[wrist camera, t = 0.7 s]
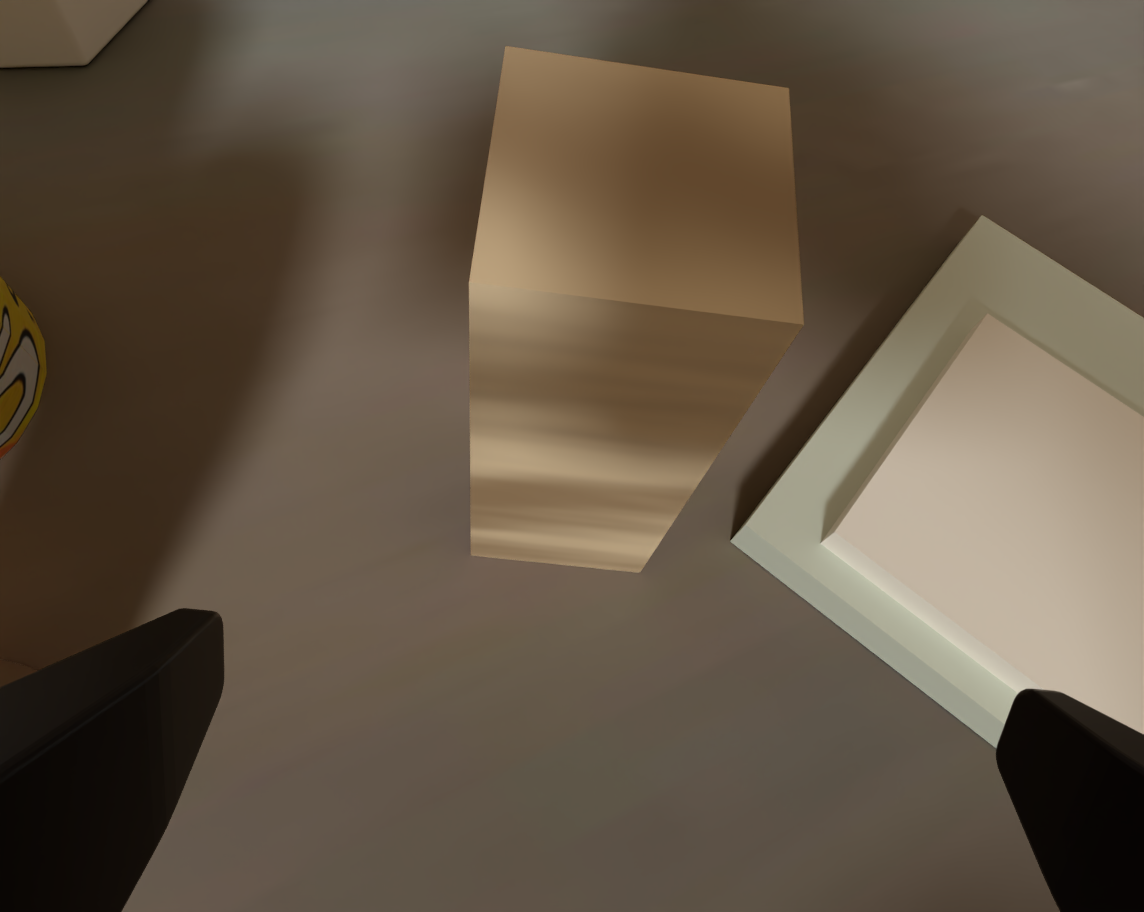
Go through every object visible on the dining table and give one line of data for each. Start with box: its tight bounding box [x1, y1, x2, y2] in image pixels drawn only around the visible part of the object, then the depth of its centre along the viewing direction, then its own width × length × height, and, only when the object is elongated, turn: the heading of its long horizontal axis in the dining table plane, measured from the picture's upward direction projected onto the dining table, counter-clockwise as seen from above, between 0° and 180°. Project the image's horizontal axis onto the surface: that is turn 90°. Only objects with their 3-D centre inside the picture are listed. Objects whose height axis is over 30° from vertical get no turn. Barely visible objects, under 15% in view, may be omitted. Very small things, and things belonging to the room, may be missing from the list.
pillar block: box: [469, 46, 804, 573], centre depth 19 cm, size 5×5×13 cm
